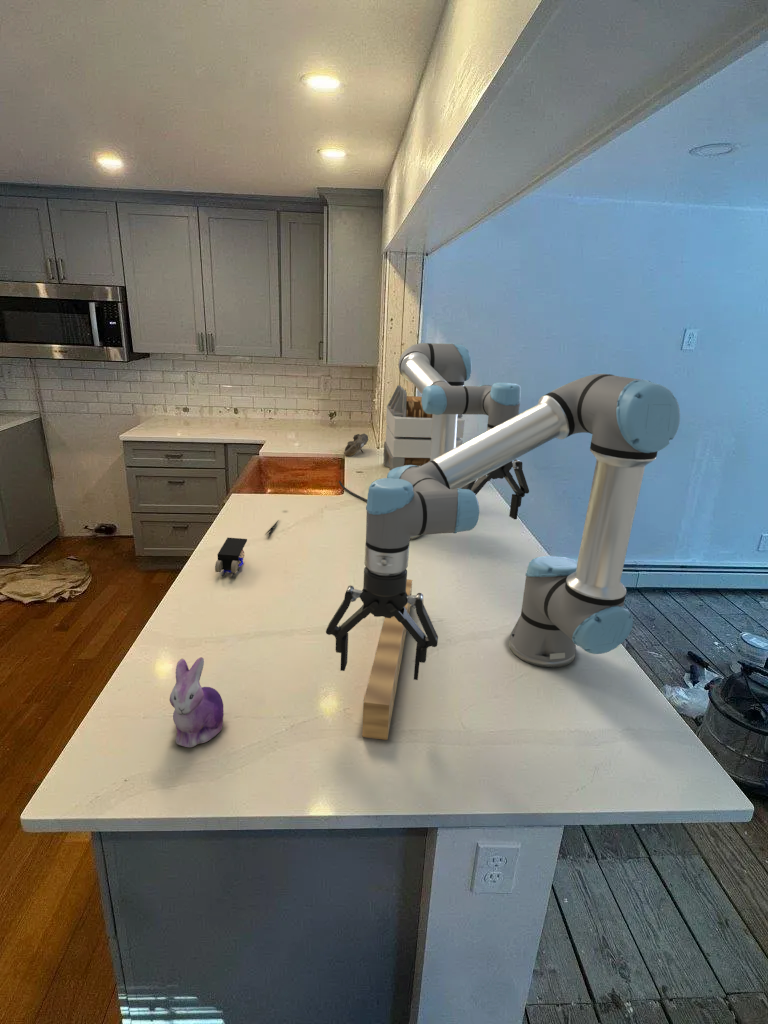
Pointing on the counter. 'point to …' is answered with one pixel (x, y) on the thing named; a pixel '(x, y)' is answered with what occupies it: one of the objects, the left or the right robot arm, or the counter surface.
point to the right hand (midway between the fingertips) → (379, 671)
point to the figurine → (195, 706)
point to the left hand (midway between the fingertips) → (491, 519)
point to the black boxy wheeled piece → (230, 556)
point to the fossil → (356, 444)
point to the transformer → (410, 431)
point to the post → (384, 677)
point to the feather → (272, 529)
